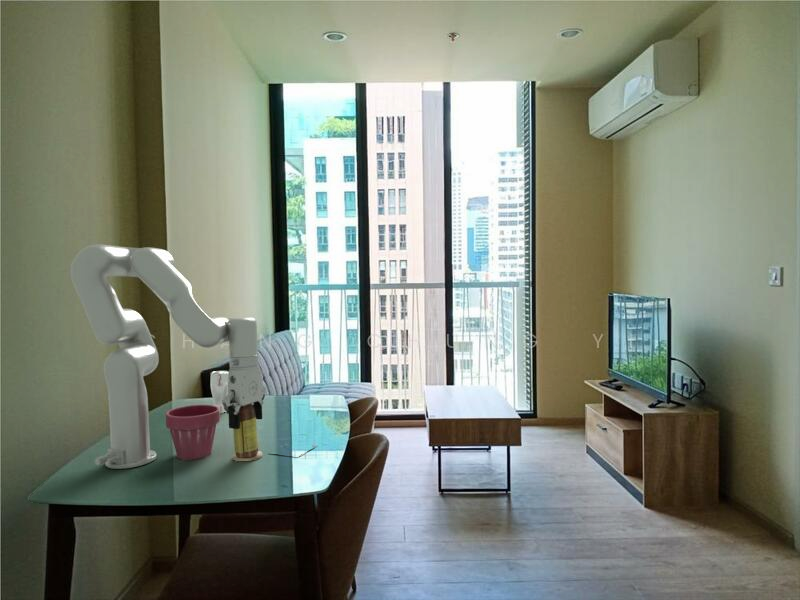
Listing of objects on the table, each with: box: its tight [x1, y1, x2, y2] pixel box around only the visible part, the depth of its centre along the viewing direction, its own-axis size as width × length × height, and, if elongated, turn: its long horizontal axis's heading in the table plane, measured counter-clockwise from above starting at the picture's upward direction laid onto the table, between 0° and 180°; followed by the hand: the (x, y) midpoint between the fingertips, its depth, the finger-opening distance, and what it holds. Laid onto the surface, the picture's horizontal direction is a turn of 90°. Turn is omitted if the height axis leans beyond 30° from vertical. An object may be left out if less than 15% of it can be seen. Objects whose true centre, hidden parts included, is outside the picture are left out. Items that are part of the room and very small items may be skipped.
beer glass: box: [210, 370, 229, 414], centre depth 196 cm, size 7×7×15 cm
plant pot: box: [165, 404, 221, 461], centre depth 149 cm, size 14×14×13 cm
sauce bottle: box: [232, 402, 259, 458], centre depth 145 cm, size 7×6×20 cm
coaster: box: [231, 450, 263, 462], centre depth 146 cm, size 8×8×1 cm
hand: (246, 423), depth 145 cm, fingers open, 9 cm apart
